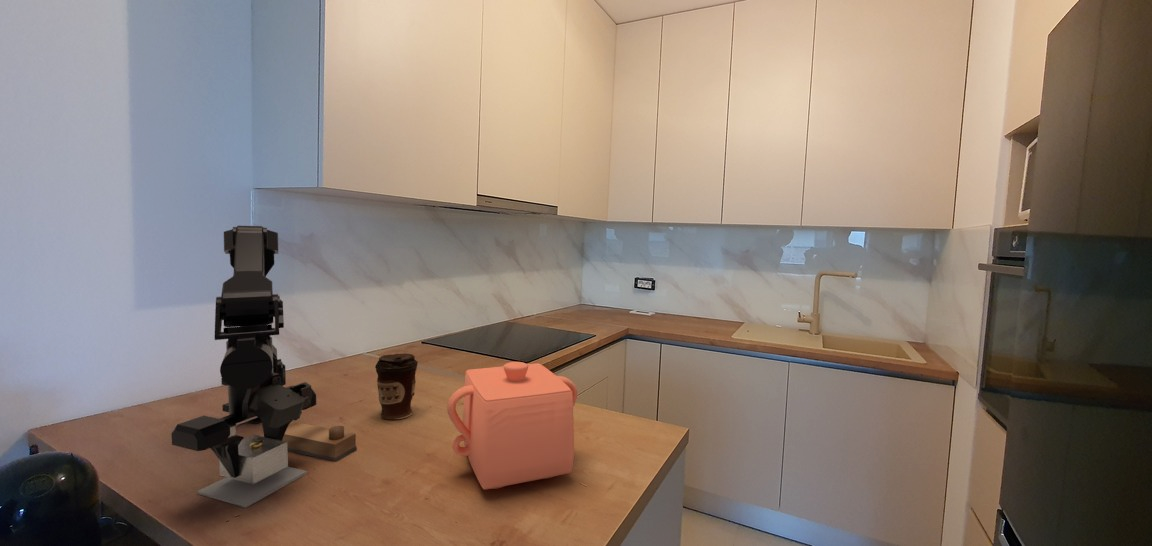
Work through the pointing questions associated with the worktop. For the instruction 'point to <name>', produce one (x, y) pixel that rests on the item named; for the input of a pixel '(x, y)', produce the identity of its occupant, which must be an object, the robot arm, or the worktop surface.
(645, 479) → the worktop surface
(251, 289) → the robot arm
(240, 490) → the felt pad
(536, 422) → the teapot
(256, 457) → the grey jewelry box
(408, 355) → the coffee cup
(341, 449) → the plane body
